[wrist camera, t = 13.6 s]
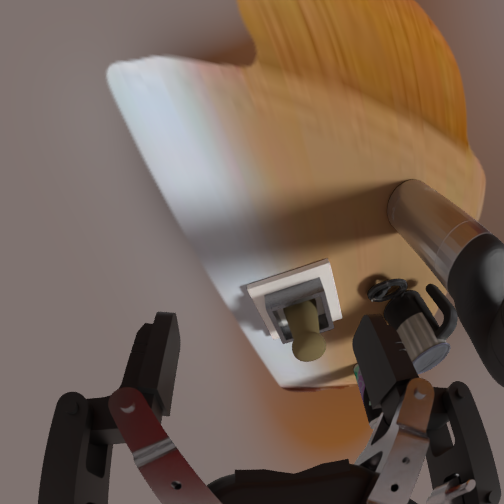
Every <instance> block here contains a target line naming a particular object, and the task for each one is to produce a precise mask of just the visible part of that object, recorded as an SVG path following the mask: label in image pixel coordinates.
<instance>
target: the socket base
mask: <svg viewBox="0 0 504 504" xmlns="http://www.w3.org/2000/svg"><path fill="white" fill-rule="evenodd" d="M318 277H320V280H321V282H322V285H323V288H324V291H325V294H326V298H327V302H328V306H329V309H330V313H331V317H332V321H336V320H339V319H342V314H341V309H340V305H339V300H338V296H337V291H336V287H335V283H334V278H333V274H332V270H331V266H330V262H329V260H328V258H327V259H324V260H321V261H319V262H316V263H313V264H310V265H307V266H304V267H301V268H298V269H295V270H292V271H289V272H286V273H283V274H279V275H276V276H273V277H270V278H267V279H264V280H261V281H258V282H255V283H251V284H248V285H247V290H248V292H249V294H250V296H251V298H252V300H253V302H254V304H255V306H256V308H257V309H258V311H259V313H260V315H261V317H262V319H263V321H264V323H265V325H266V326H267V328H268V330H269V332H270V334H271V336H272V338H273V340H274V339H277V338H280V337H279V335H278V333H277V331H276V329H275V327H274V325H273V323H272V321H271V319H270V317H269V315H268V313H267V311H266V307H265V297H264V295H266V294H269V293H272V292H276V291H279V290H282V289H285V288H288V287H291V286H294V285H297V284H300V283H303V282H306V281H310V280H313V279H316V278H318ZM315 300H316V303H317V312H318V315H321V314H324V313H325V312H324V308H323V304H322V301H321V297H317V298H315ZM277 312H278V315H279V317H280V319H281V321H282V323H283V325H284V326H286V325H288V322H287V320H286V317H285V314H284V311H283V308H282V309H279V310H277Z"/></svg>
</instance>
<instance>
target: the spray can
mask: <svg viewBox="0 0 504 504" xmlns="http://www.w3.org/2000/svg"><path fill="white" fill-rule="evenodd" d="M353 370H354V373H355V376H356V380H357V383H358V386H359V390H360V393H361V396H362V400H363V403H364V406H365V410H366V414H367V417H368V421H369V425H370V426H371V428H372V429H374V428H375V426H376V424H377V421H378V419H379V417H380V414H381V413H382V412H383V411H382V408H376V409H372V406H371V403H370V399H369V396H368V393H367V390H366V387H365V384H364V381H363V377H362V374H361V371H360V368H359V365H358V363H357V364H356V365H355V366H354V368H353Z"/></svg>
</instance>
